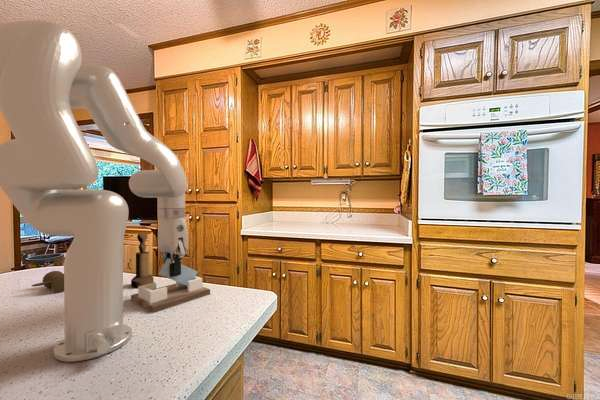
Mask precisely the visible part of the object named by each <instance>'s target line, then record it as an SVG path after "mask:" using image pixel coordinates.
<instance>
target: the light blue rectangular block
mask: <svg viewBox="0 0 600 400" xmlns="http://www.w3.org/2000/svg"><path fill="white" fill-rule="evenodd" d="M170 263H171V259H168V258H167V260H166V261H165V263H164V265H162V267H161V268H160V270H159V272H158V275H160V276H162V277H165V278H167V279H170V280H172V281H174V282H175V283H176V282H179V283H181V284H184V285H186V286H187V281H190V280H194V278H195V276H197V275H198V271H197V270H195V269H193V268H191V267H188V266H186V265H184V264H182V263H181V275H178V276H174V277H170Z"/></svg>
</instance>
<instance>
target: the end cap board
mask: <svg viewBox="0 0 600 400" xmlns="http://www.w3.org/2000/svg"><path fill="white" fill-rule="evenodd" d="M164 287H167V299H163V300H160V301H157V302H153V303H149V302H147V301H145V300H143V299H141V298H140V297H138V293H134V294H131V295H130V300H131V301H132V302H133V303H135V304H137V305H139V306H141V307H142V308H144V309H146V310H147V311H149V312H151V313H158V312H160V311H163V310H166V309H170V308H172V307H175V306H179V305H181V304H184V303H185V304H186V303H187V302H191V301H194V300H196V299H199V298H200V299H201V298H202V297H205V296H209V295H211V289H210V288H208V287H205V286H202V288H200V289H197V290H193V291H190V292H188V291H187V286H186V285H184V286H181V287H176V282H175V283H172V284H167V285H164V286H161V287H158V288H157V287H156V289H160V288H164Z"/></svg>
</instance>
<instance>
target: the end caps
mask: <svg viewBox="0 0 600 400" xmlns="http://www.w3.org/2000/svg"><path fill="white" fill-rule="evenodd" d="M175 283H176V287H181V286H184V284H181V283H179V282H176V281H175ZM163 287H164V286H163ZM202 287H203V278H202V277H200V276H198V275H196V276H195V278H194V280H190V281H187V291H188V292H190V291H193V290H197V289H200V288H202ZM156 288H157V282H154V283H151V284H146V285H142V286H138V289H137V290H138V297H140V298H141V299H143V300H145V301H147V302H149V303H153V302H157V301H160V300H163V299H167V287H164V288H160V287H159V288H160V289H156Z"/></svg>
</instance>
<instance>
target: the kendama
mask: <svg viewBox="0 0 600 400" xmlns="http://www.w3.org/2000/svg"><path fill="white" fill-rule="evenodd" d="M41 281H42V282H39V283H34V284H31V287H42V286H44V288H48V289H51V290H52V291H53V292H55V293H59V294H60V293H64V272H62V271H59V270H52V271H49V272H47V273H46V274H44V275H43V277H42V280H41Z"/></svg>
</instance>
